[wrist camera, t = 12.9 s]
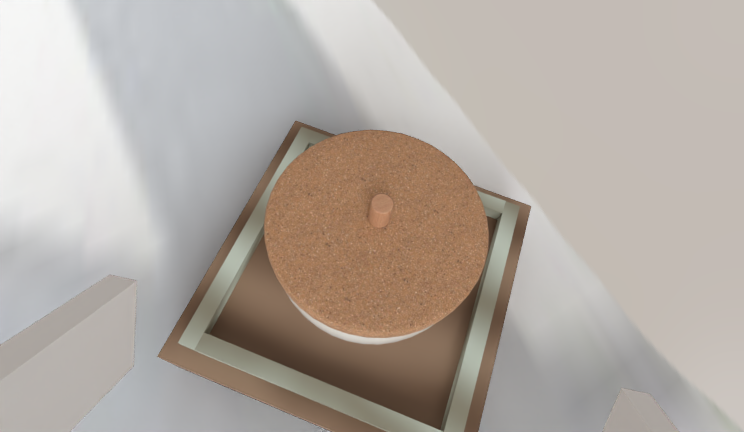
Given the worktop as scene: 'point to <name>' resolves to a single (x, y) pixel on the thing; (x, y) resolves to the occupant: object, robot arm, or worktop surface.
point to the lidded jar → (375, 235)
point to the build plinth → (336, 356)
